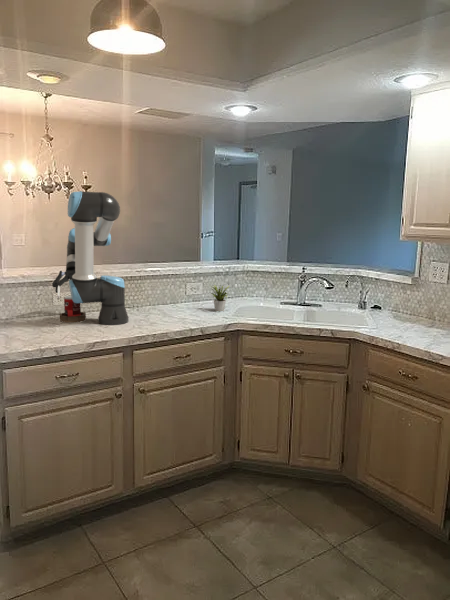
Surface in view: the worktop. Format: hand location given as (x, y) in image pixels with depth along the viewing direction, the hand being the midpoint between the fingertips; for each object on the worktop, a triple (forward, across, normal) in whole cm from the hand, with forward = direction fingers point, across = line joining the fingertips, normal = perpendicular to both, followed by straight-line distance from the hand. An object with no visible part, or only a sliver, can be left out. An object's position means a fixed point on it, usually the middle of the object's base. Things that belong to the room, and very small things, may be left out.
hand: (72, 297), depth 260 cm
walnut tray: (+10, 0, -6) cm, 12 cm away
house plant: (+1, -79, -16) cm, 80 cm away
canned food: (+10, 0, -5) cm, 11 cm away
